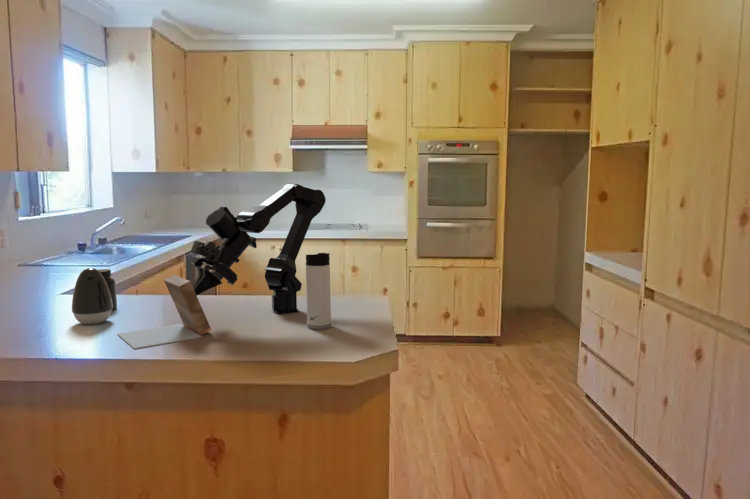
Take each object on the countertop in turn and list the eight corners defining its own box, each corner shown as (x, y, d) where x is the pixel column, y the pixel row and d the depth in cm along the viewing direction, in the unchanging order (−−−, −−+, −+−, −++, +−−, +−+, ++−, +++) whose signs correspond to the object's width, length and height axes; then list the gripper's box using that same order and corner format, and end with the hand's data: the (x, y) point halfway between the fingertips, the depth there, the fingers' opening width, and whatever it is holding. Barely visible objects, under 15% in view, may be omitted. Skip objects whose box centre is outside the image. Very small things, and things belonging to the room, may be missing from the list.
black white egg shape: (71, 329, 155) (67, 272, 153) (74, 320, 165) (70, 266, 163) (113, 324, 159) (109, 269, 157) (113, 316, 169) (110, 264, 167)
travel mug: (313, 331, 151) (311, 254, 148) (303, 325, 156) (301, 251, 154) (335, 328, 154) (333, 252, 151) (325, 322, 159) (324, 249, 157)
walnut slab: (194, 320, 159) (174, 274, 154) (211, 329, 149) (190, 281, 145) (184, 326, 157) (163, 279, 153) (200, 335, 148) (179, 286, 143)
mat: (180, 324, 158) (180, 323, 158) (201, 337, 146) (201, 336, 146) (117, 334, 149) (117, 333, 149) (134, 349, 136) (134, 348, 136)
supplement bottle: (97, 307, 182) (95, 268, 180) (120, 306, 182) (118, 268, 181) (88, 312, 175) (86, 272, 173) (112, 311, 175) (109, 271, 174)
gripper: (196, 227, 160) (157, 271, 155) (223, 231, 145) (181, 280, 140) (225, 253, 166) (188, 296, 160) (254, 260, 151) (214, 308, 145)
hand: (192, 295), depth 151 cm, fingers closed
